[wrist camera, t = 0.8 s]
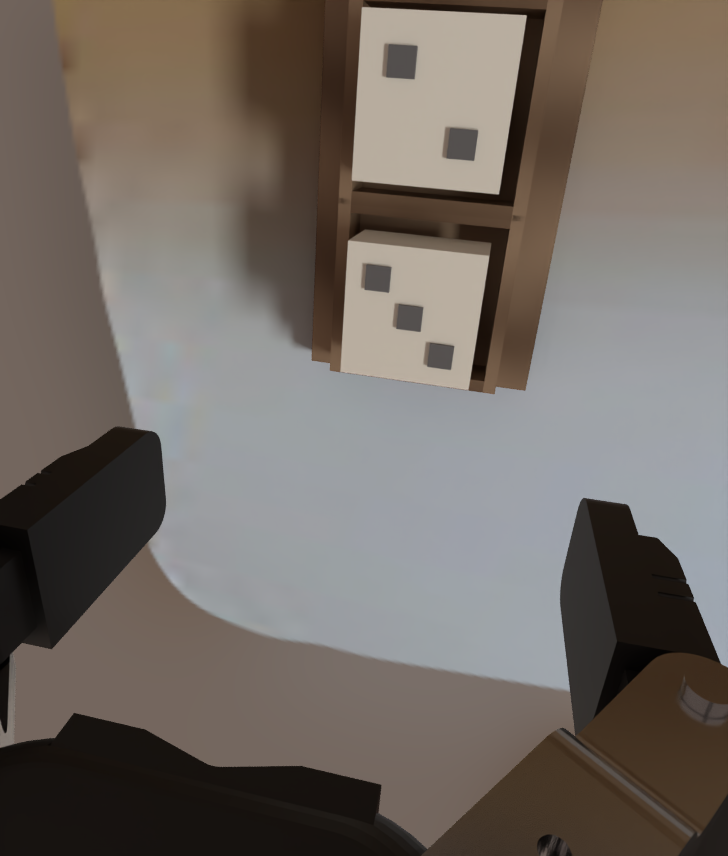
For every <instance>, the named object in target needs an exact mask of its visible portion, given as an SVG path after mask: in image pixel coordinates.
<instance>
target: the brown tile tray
mask: <svg viewBox="0 0 728 856" xmlns="http://www.w3.org/2000/svg"><path fill="white" fill-rule="evenodd" d="M602 2H603V0H325V20H324V47H323V73H322V100H321V126H320V153H319V179H318V206H317V232H316V259H315V285H314V312H313V338H312V361H319V362H326V363H330V371H336V372H340V369H341V352H342V335H343V318H344V302H345V285H346V268H347V251H348V240H350V239H351V238H353V237H354V236H356V235H357V234H359V233H360V232H362V231H364V230H365V229H366V230H376V231H385V232H394V233H404V234H413V235H423V236H432V237H441V238H451V239H460V240H470V241H479V242H488V243H491V249H490V255H489V262H488V268H487V275H486V281H485V288H484V294H483V300H482V307H481V313H480V320H479V326H478V332H477V339H476V345H475V352H474V358H473V364H472V371H471V377H470V383H469V389H468V390H469V391H476V392H483V393H490V394H495V388H496V387H503V388H510V389H517V390H524V391H525V389H526V384H527V379H528V374H529V369H530V364H531V359H532V354H533V349H534V344H535V339H536V334H537V329H538V324H539V319H540V314H541V309H542V304H543V299H544V294H545V289H546V284H547V279H548V274H549V268H550V263H551V258H552V253H553V248H554V243H555V238H556V233H557V228H558V223H559V218H560V213H561V208H562V203H563V198H564V193H565V188H566V183H567V178H568V173H569V168H570V163H571V158H572V153H573V148H574V143H575V138H576V132H577V127H578V122H579V117H580V112H581V107H582V102H583V97H584V92H585V87H586V82H587V77H588V72H589V67H590V62H591V57H592V52H593V47H594V42H595V37H596V32H597V27H598V22H599V17H600V12H601V7H602ZM362 7H371V8H391V9H411V10H430V11H450V12H470V13H490V14H510V15H527V18H526V24H525V31H524V37H523V44H522V50H521V57H520V63H519V70H518V76H517V82H516V89H515V95H514V102H513V108H512V114H511V121H510V127H509V134H508V140H507V146H506V153H505V159H504V166H503V172H502V179H501V185H500V191H499V194H489V193H479V192H468V191H457V190H447V189H436V188H426V187H415V186H404V185H394V184H383V183H373V182H362V181H352V166H353V150H354V133H355V116H356V99H357V82H358V65H359V48H360V31H361V15H362ZM343 373H345V372H343ZM350 374H352V373H350ZM357 375H359V374H357ZM364 376H366V375H364ZM371 377H373V376H371ZM378 378H380V377H378ZM385 379H387V378H385ZM392 380H394V379H392ZM399 381H401V380H399ZM406 382H408V381H406ZM413 383H415V382H413ZM420 384H422V383H420ZM427 385H429V384H427ZM434 386H436V385H434ZM441 387H443V386H441ZM448 388H450V387H448ZM455 389H457V388H455ZM462 390H464V389H462Z"/></svg>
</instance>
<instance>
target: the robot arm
mask: <svg viewBox="0 0 728 856" xmlns="http://www.w3.org/2000/svg"><path fill="white" fill-rule="evenodd" d="M165 508H166V496H165V484H164V473H163V462H162V451H161V442H160V439H159V436H158V435H157V434H156V433H155V432H152V431H146V430H139V429H132V428H125V427H114V428H113V429H111V430H110V431H108V432H107V433H106V434H104V435H103V436H102V437H100V438H99V439H97V440H96V441H95V442H93V443H92V444H90V445H89V446H87V447H84V448H82V449H79V450H77V451H74V452H71V453H69V454H66V455H64V456H61V457H60V458H58V459H57V460H55V461H54V462H53V463H52V464H50V465H48V466H47V467H46V468H44V469H43V470H42V471H41V474H40V473H37V474H36V475H34V476H33V477H31V478H30V479H29V480H27V481H26V483H25V485H20V486H19V487H17V488H16V489H14V490H13V491H12V492H10V493H9V494H8V495H6V496H5V497H3V498H2V499H0V856H728V667H726V666H724V665H722V664H721V663H720V660H719V658H718V656H717V653H716V651H715V648H714V646H713V643H712V641H711V638H710V636H709V634H708V631H707V629H706V626H705V624H704V621H703V619H702V616H701V614H700V612H699V609H698V607H697V604H696V602H694V601H693V600H694V597H693V594H692V592H691V589H690V587H689V585H688V584H686V577H685V575H684V572H683V570H682V567H681V565H680V563H679V560H678V558H677V557H676V556H675V555H674V554H673V553H672V552H671V551H670V550H669V549H668V548H667V547H666V546H665V545H664V544H663V543H662V542H661V541H660V540H659V539H658V538H654V537H648V536H642V535H638V532H637V529H636V526H635V523H634V520H633V517H632V514H631V511H630V508H629V506H628V505H626V504H620V503H613V502H607V501H600V500H594V499H587V498H583V499H582V500H581V502H580V504H579V507H578V511H577V515H576V519H575V523H574V527H573V532H572V536H571V540H570V544H569V548H568V552H567V556H566V561H565V565H564V569H563V574H562V580H561V590H560V606H561V615H562V624H563V632H564V641H565V650H566V659H567V667H568V676H569V685H570V693H571V702H572V710H573V719H574V728H575V736H574V735H573V734H571V733H570V732H569V731H567V730H566V729H564V728H560V729H557V730H555V731H554V732H552V733H551V734H550V735H548V736H547V737H546V738H545V739H544V740H543V741H542V742H541V743H540V744H539V745H538V746H537V747H536V748H534V749H533V750H532V751H531V752H530V753H529V754H528V755H527V756H526V757H525V758H524V759H523V760H522V761H521V762H520V763H519V764H518V765H516V766H515V767H514V768H513V769H512V770H511V771H510V772H509V773H508V774H507V775H506V776H505V777H504V778H503V779H502V780H501V781H499V782H498V783H497V784H496V785H495V786H494V787H493V788H492V789H491V790H490V791H489V792H488V793H487V794H486V795H485V796H484V797H482V798H481V799H480V801H478V802H477V803H476V804H475V805H474V806H473V807H472V808H471V809H470V810H469V811H468V812H467V813H466V814H465V815H463V816H462V817H461V818H460V819H459V820H458V821H457V822H456V823H455V824H454V825H453V826H452V827H451V828H450V829H449V830H448V831H446V832H445V833H444V834H443V835H442V836H441V837H440V838H439V839H438V840H437V841H436V842H435V843H434V844H433V845H432V846H431V847H429V848H428V849H426V848H425V847H424V846H423V845H422V844H421V843H420V842H419V841H418V840H417V839H416V838H414V837H413V836H412V835H411V834H410V833H408V832H407V831H405V830H404V829H403V828H401V827H400V826H398V825H397V824H396V823H394V822H393V821H391V820H389V819H387V818H386V817H384V816H382V815H380V814H379V813H378V812H379V802H380V794H381V785H380V784H376V783H371V782H367V781H363V780H359V779H354V778H350V777H346V776H341V775H337V774H333V773H329V772H324V771H320V770H315V769H312V768H307V767H303V766H270V767H269V766H268V767H215V766H211V765H208V764H206V763H204V762H202V761H200V760H198V759H197V758H195V757H193V756H191V755H189V754H188V753H186V752H184V751H182V750H181V749H179V748H177V747H175V746H173V745H172V744H170V743H168V742H166V741H164V740H163V739H161V738H159V737H157V736H155V735H154V734H152V733H150V732H148V731H147V730H145V729H140V728H136V727H131V726H128V725H123V724H119V723H114V722H111V721H106V720H102V719H98V718H93V717H89V716H85V715H81V714H76V713H74V714H73V715H72V716H71V718H70V719H69V721H68V722H67V723H66V725H65V726H64V727H63V729H62V730H61V731H60V732H59V734H58V735H57V736H56V738H49V739H41V740H33V741H26V742H21V743H17V744H14V720H15V678H16V666H15V660H14V656H13V651H14V650H15V649H16V648H17V647H18V646H19V645H20V644H21V643H26V644H30V645H35V646H40V647H44V648H49V649H52V648H53V647H54V646H55V645H56V644H57V643H58V642H59V640H60V639H61V638H62V637H63V636H64V635H65V634H66V633H67V632H68V630H69V629H70V628H71V627H72V626H73V625H74V624H75V623H76V621H77V620H78V619H79V618H80V617H81V616H82V615H83V613H85V611H86V610H87V609H88V608H89V607H90V606H91V605H92V604H93V602H94V601H95V600H96V599H97V598H98V597H99V596H100V595H101V594H102V592H103V591H104V590H105V589H106V588H107V587H108V586H109V585H110V584H111V582H112V581H113V580H114V579H115V578H116V577H117V576H118V575H119V573H120V572H121V571H122V570H123V569H124V568H125V567H126V566H127V565H128V563H129V562H130V561H131V560H132V559H133V558H134V557H135V556H136V554H137V553H138V552H139V551H140V550H141V549H142V548H143V547H144V546H145V544H146V543H147V542H148V541H149V540H150V539H151V538H152V537H153V535H154V534H155V533H156V532H157V531H158V529H159V527H160V525H161V523H162V521H163V518H164V514H165Z"/></svg>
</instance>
